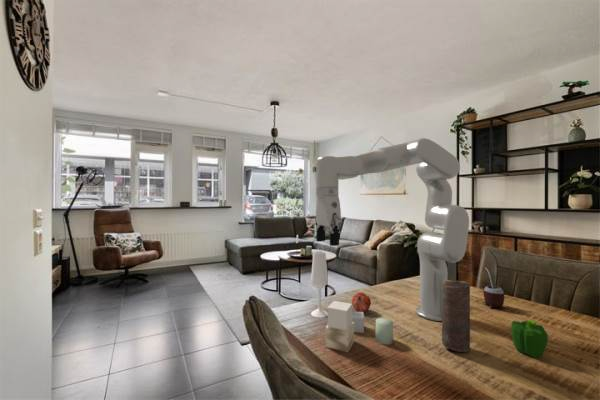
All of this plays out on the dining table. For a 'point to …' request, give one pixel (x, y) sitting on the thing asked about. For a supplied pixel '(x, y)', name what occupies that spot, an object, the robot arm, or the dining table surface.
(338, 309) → the tower top
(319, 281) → the champagne flute
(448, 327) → the candle
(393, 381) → the dining table surface
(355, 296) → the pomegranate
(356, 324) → the grey cube
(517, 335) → the bell pepper
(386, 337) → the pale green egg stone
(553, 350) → the dining table surface
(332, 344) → the tower base
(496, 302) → the mate gourd
